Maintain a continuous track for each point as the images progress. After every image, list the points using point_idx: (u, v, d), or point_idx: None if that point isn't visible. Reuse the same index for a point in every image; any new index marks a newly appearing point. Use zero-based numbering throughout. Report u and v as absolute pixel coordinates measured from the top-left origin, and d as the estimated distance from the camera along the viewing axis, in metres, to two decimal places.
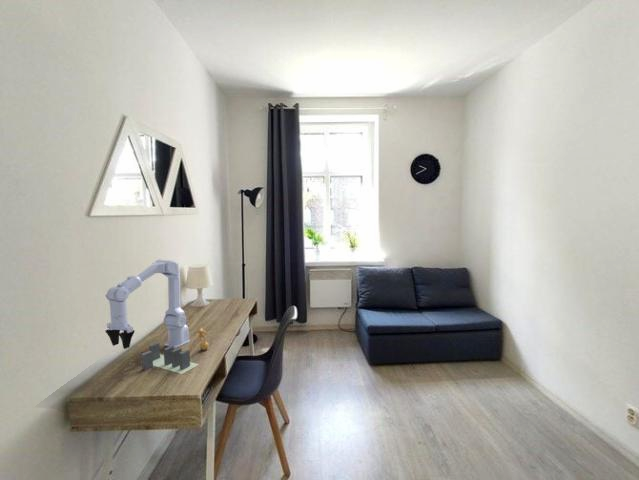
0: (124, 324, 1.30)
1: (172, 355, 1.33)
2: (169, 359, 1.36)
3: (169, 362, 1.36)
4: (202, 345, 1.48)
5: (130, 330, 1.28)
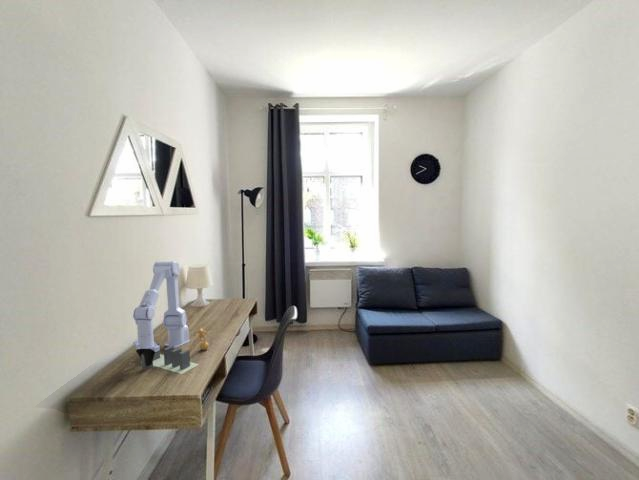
0: (151, 343, 1.31)
1: (172, 355, 1.33)
2: (169, 359, 1.36)
3: (169, 362, 1.36)
4: (202, 345, 1.48)
5: (157, 349, 1.29)
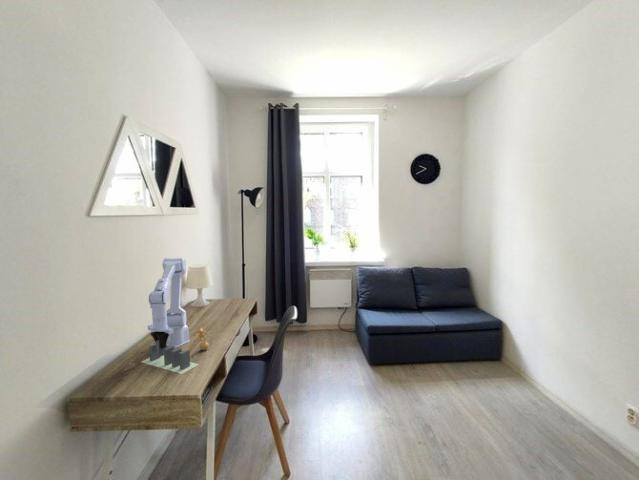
0: (165, 326, 1.37)
1: (172, 355, 1.33)
2: (169, 359, 1.36)
3: (169, 362, 1.36)
4: (202, 345, 1.48)
5: (171, 332, 1.34)
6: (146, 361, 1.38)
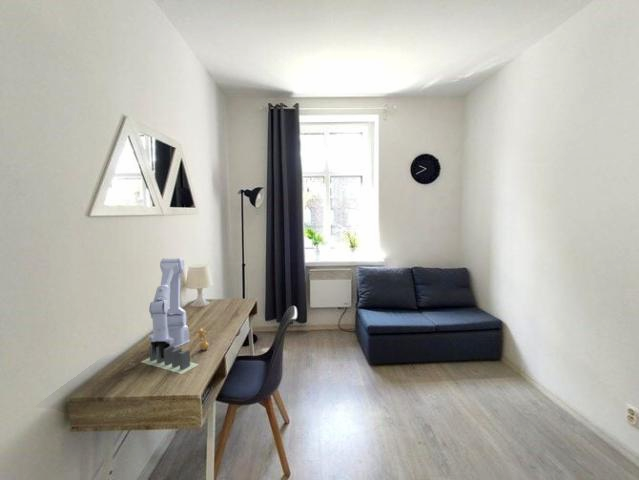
0: (165, 336, 1.37)
1: (172, 355, 1.33)
2: (169, 359, 1.36)
3: (169, 362, 1.36)
4: (202, 345, 1.48)
5: (172, 342, 1.35)
6: (146, 361, 1.38)
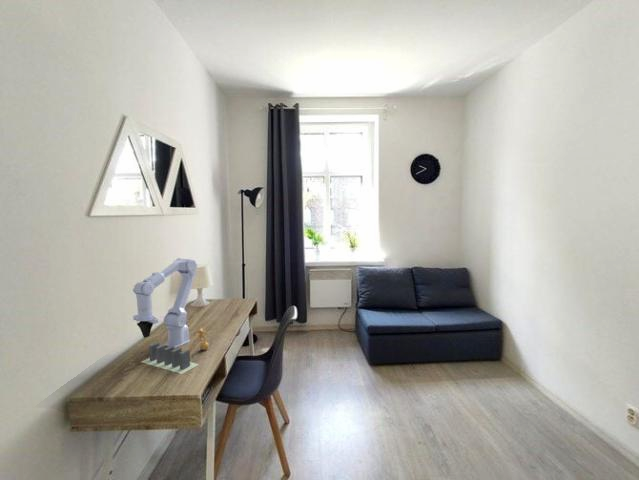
0: (150, 316, 1.41)
1: (172, 355, 1.33)
2: (169, 359, 1.36)
3: (169, 362, 1.36)
4: (202, 345, 1.48)
5: (156, 321, 1.38)
6: (146, 361, 1.38)
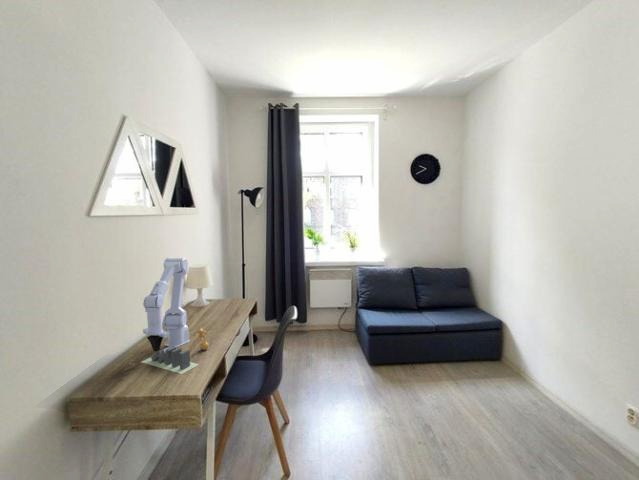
0: (160, 330, 1.38)
1: (172, 355, 1.33)
2: (170, 359, 1.35)
3: (169, 362, 1.35)
4: (202, 345, 1.48)
5: (166, 335, 1.36)
6: (146, 361, 1.38)
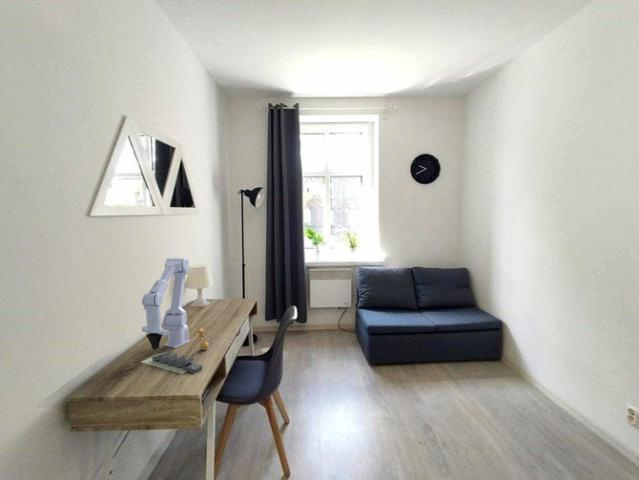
0: (159, 328, 1.39)
1: (183, 362, 1.30)
2: None
3: None
4: (202, 345, 1.48)
5: (165, 333, 1.36)
6: (146, 361, 1.38)
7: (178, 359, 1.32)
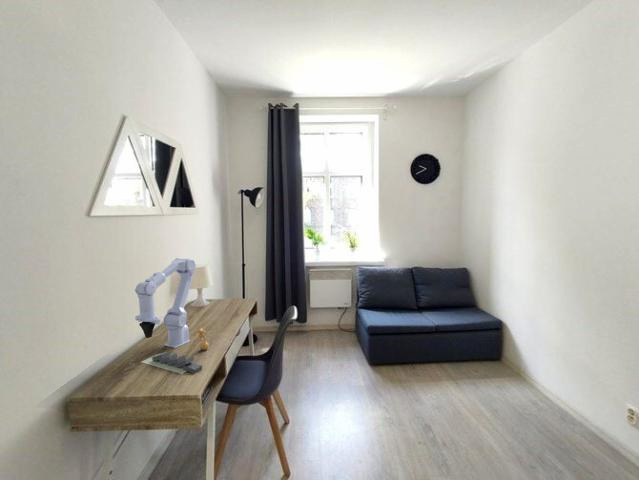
0: (152, 316, 1.40)
1: (183, 362, 1.30)
2: None
3: None
4: (202, 345, 1.48)
5: (158, 322, 1.38)
6: (146, 361, 1.38)
7: (178, 359, 1.32)
